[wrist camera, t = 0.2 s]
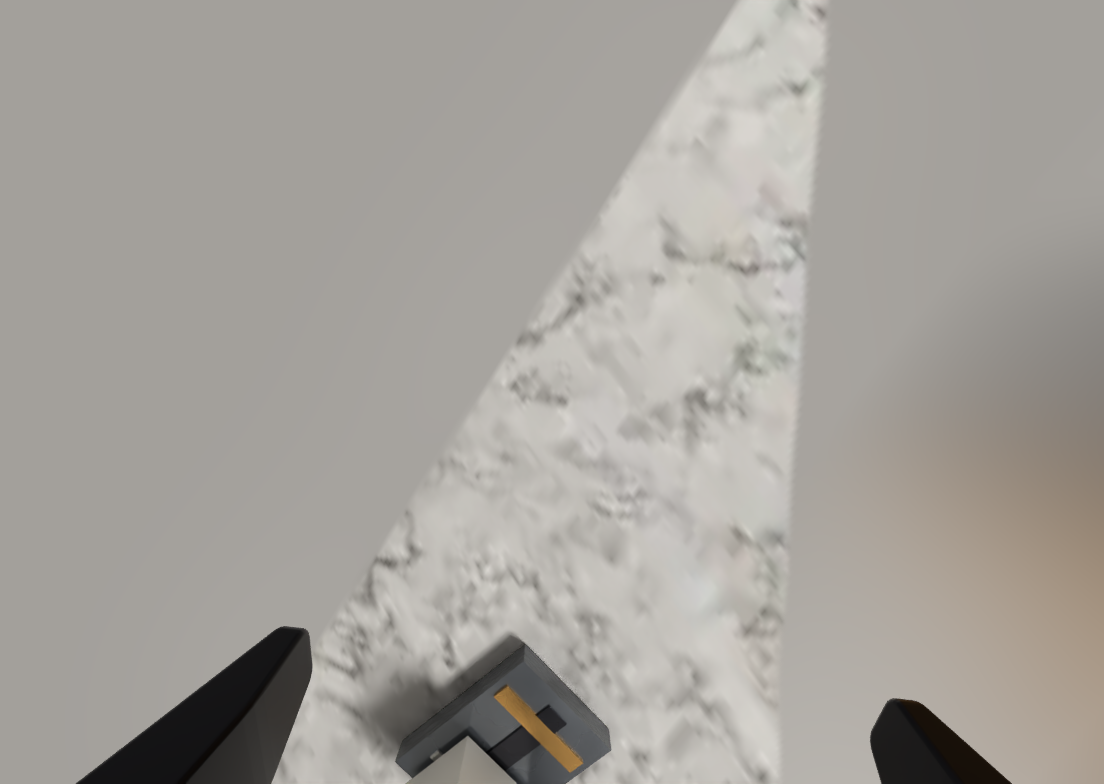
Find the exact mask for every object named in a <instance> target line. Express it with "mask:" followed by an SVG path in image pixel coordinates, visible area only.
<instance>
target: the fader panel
mask: <svg viewBox="0 0 1104 784" xmlns="http://www.w3.org/2000/svg"><path fill="white" fill-rule="evenodd" d="M467 736H469V737H470V738H471V739H472V740H473V741H474V742H475V743H476V744H477V745H478V746H479V747H480V748H481V749H482V750H483V751H484V752H485V753H486V754H487V755H488V756H489V757H490V758H491V759H492V760H493V761H494V762H495V763H496V764H498V765H499V766H500V767H501V768H502V769H503V770H504V771H505V772H506V773H507V774H508V775H509V776H510V777H511V778H512V779H513V780H514V781H515V782H516V783H517V784H566V783H567V782H569V781H570V780H571V779H573V778H574V777H575V776H577V775H578V774H579V773H581V772H582V771H584V770H585V769H586V768H588V767H589V766H590V765H592V764H593V763H594V762H596V761H597V760H599V759H600V758H601V757H603V756H604V755H605V754H607V753H608V752H609V751H611V744H610V735H609V729H608V728H607V727H606V726H605V725H604V724H603V723H602V722H601V721H600V720H599V719H598V718H597V717H596V716H595V715H594V714H593V713H592V712H591V711H590V710H589V709H588V708H587V707H586V706H585V705H584V704H583V703H582V701H581V700H580V699H579V698H578V697H577V696H576V695H575V694H574V693H573V692H572V691H571V690H570V689H569V688H568V687H567V686H566V685H565V684H564V683H563V682H562V681H561V680H560V679H559V678H558V677H557V676H556V675H555V674H554V673H553V672H552V671H551V670H550V669H549V668H548V667H547V666H546V665H545V664H544V663H543V662H542V661H541V660H540V659H539V657H538V656H537V655H536V654H535V653H534V652H533V651H532V650H531V649H530V648H529V647H528V646H527V645H526V644H525V645H524V646H522V647H521V648H520V649H519V650H517V651H516V652H515V653H513V654H512V655H511V656H510V657H508V658H507V659H506V660H505V661H503V662H502V663H501V664H500V665H498V666H497V667H496V668H494V669H493V670H492V671H491V672H489V673H488V674H487V675H486V676H484V677H483V678H482V679H480V680H479V681H478V682H477V683H475V684H474V685H473V686H472V687H470V688H469V689H468V690H466V691H465V692H464V693H463V694H461V695H460V696H459V697H458V698H456V699H455V700H454V701H453V702H451V703H450V704H449V705H447V706H446V707H445V708H444V709H442V710H441V711H440V712H439V713H437V714H436V715H435V716H433V717H432V718H431V719H430V720H428V721H427V722H426V723H425V724H423V725H422V726H421V727H420V728H418V729H417V730H416V731H414V732H413V733H412V734H411V735H409V736H408V737H407V738H406V739H404V740H403V741H402V744H401V747H400V749H399V752H398V755H397V758H396V761H395V762H396V763H397V764H398V765H399V766H400V767H401V768H402V769H403V770H404V771H405V772H406V773H407V774H409V775H410V776H411V777H412V778H414V777H415V776H416V775H418V774H419V773H420V772H421V771H423V770H424V769H425V768H427V767H428V766H429V765H431V764H432V763H433V762H434V761H436V760H437V759H438V758H440V757H441V756H442V755H444V754H445V753H446V752H447V751H449V750H450V749H451V748H453V747H454V746H455V745H456V744H458V743H459V742H460V741H462V740H463V739H464V738H466V737H467Z"/></svg>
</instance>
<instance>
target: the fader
mask: <svg viewBox="0 0 1104 784" xmlns="http://www.w3.org/2000/svg"><path fill="white" fill-rule="evenodd" d="M406 784H517V783H516V782H515V781H514V780H513V779H512V778H511V777H510V776H509V775H508V774H507V773H506V772H505V771H504V770H503V769H502V768H501V767H500V766H499V765H498V764H496V763H495V762H494V761H493V760H492V759H491V758H490V757H489V756H488V755H487V754H486V753H485V752H484V751H483V750H482V749H481V748H480V747H479V746H478V745H477V744H476V743H475V742H474V741H473V740H472V739H471V738H470V737H469V736H467V737H466V738H464V739H463V740H462V741H460V742H459V743H458V744H456V745H455V746H454V747H453V748H451V749H450V750H449V751H447V752H446V753H445V754H444V755H442V756H441V757H440V758H438V759H437V760H436V761H434V762H433V763H432V764H431V765H429V766H428V767H427V768H425V769H424V770H423V771H421V772H420V773H419V774H418V775H416V776H415V777H414V778H412V779H411V780H410V781H409V782H407V783H406Z"/></svg>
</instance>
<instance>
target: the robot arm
mask: <svg viewBox="0 0 1104 784" xmlns="http://www.w3.org/2000/svg"><path fill="white" fill-rule="evenodd" d="M311 674H312V656H311V646H310V636H309V633H308V631H307V630H306V629H304V628H296V627H287V626H283V627H280V628H278V629H276V630H274V631H273V632H272V633H270V634H269V635H268V636H267V637H265V638H264V639H263V640H261V641H260V642H259V643H257V644H256V645H255V646H254V647H252V648H251V649H250V650H248V651H247V652H246V653H244V654H243V655H242V656H241V657H239V658H238V659H237V660H235V661H234V662H233V663H232V664H230V665H229V666H228V667H226V668H225V669H224V670H222V671H221V672H220V673H219V674H217V675H216V676H215V677H213V678H212V679H211V680H209V681H208V682H207V683H206V684H204V685H203V686H202V687H200V688H199V689H198V690H197V691H195V692H194V693H193V694H191V695H190V696H189V697H188V698H186V699H185V700H184V701H182V702H181V703H180V704H179V705H177V706H176V707H175V708H173V709H172V710H171V711H169V712H168V713H167V714H165V715H164V716H163V717H162V718H160V719H159V720H158V721H157V722H155V723H154V724H153V725H151V726H150V727H149V728H147V729H146V730H145V731H144V732H142V733H141V734H139V735H138V736H137V737H136V738H135V739H133V740H132V741H130V742H129V743H128V744H127V745H125V746H124V747H123V748H121V749H120V750H119V751H117V752H116V753H115V754H114V755H112V756H111V757H110V758H108V759H107V760H106V761H104V762H103V763H102V764H101V765H99V766H98V767H97V768H95V769H94V770H93V771H92V772H90V773H89V774H88V775H86V776H85V777H84V778H83V779H81V780H80V781H79V782H77V783H76V784H271V783H272V780H273V778H274V775H275V773H276V770H277V767H278V765H279V762H280V759H281V757H282V754H283V751H284V749H285V746H286V743H287V741H288V738H289V735H290V733H291V730H292V727H293V725H294V722H295V719H296V717H297V714H298V711H299V709H300V706H301V703H302V701H303V698H304V695H305V693H306V690H307V687H308V685H309V682H310V678H311ZM870 743H871V749H872V753H873V756H874V760H875V763H876V767H877V770H878V773H879V777H880V780H881V784H1012V783H1011V782H1010V781H1008V780H1007V779H1006V778H1005V777H1004V776H1003V775H1002V774H1000V773H999V772H998V771H997V770H996V769H995V768H994V767H993V766H991V765H990V764H989V763H988V762H987V761H986V760H985V759H984V758H983V757H981V756H980V755H979V754H978V753H977V752H976V751H975V750H974V749H972V748H971V747H970V746H969V745H968V744H967V743H966V742H964V740H962V739H961V738H960V737H959V736H958V735H957V734H956V733H955V732H953V731H952V730H951V729H950V728H949V727H948V726H946V724H944V723H943V722H942V721H941V720H940V719H939V718H938V717H937V716H936V715H934V714H933V713H932V712H931V711H930V710H929V709H928V708H926V707H925V706H924V705H923V704H921V703H919V702H917V701H913V700H905V699H894V698H893V699H890V700H889V701H887V703H886V704H885V706H884V708H883V710H882V712H881V714H880V715H879V717H878V719H877V721H876V723H875V725H874V727H873V729H872V731H871V736H870Z"/></svg>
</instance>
